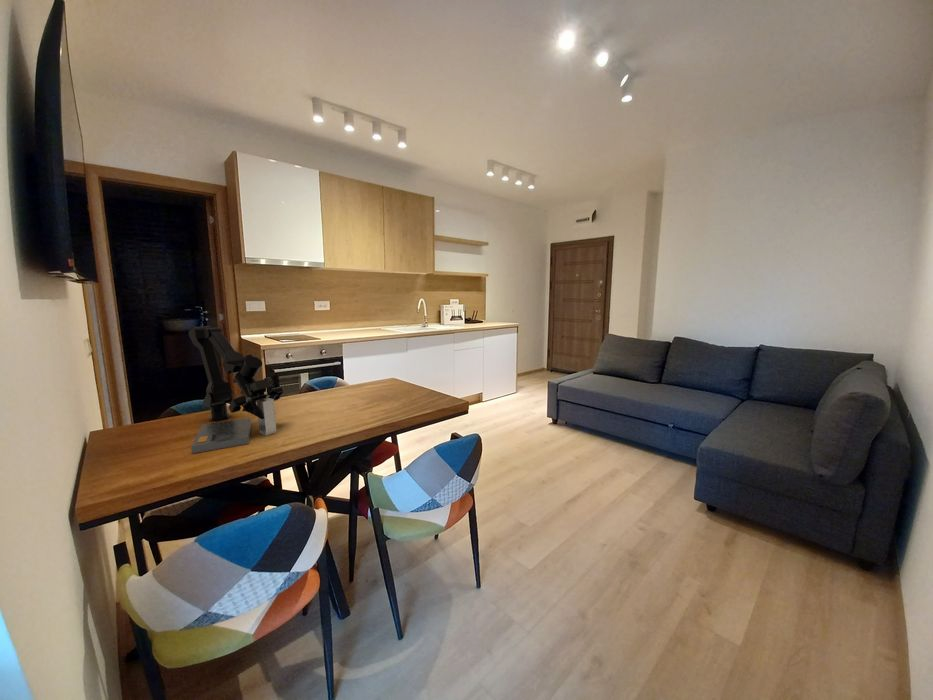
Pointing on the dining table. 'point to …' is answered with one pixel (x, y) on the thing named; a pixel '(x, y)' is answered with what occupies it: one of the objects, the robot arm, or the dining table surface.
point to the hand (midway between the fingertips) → (268, 416)
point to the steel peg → (267, 416)
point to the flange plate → (222, 435)
